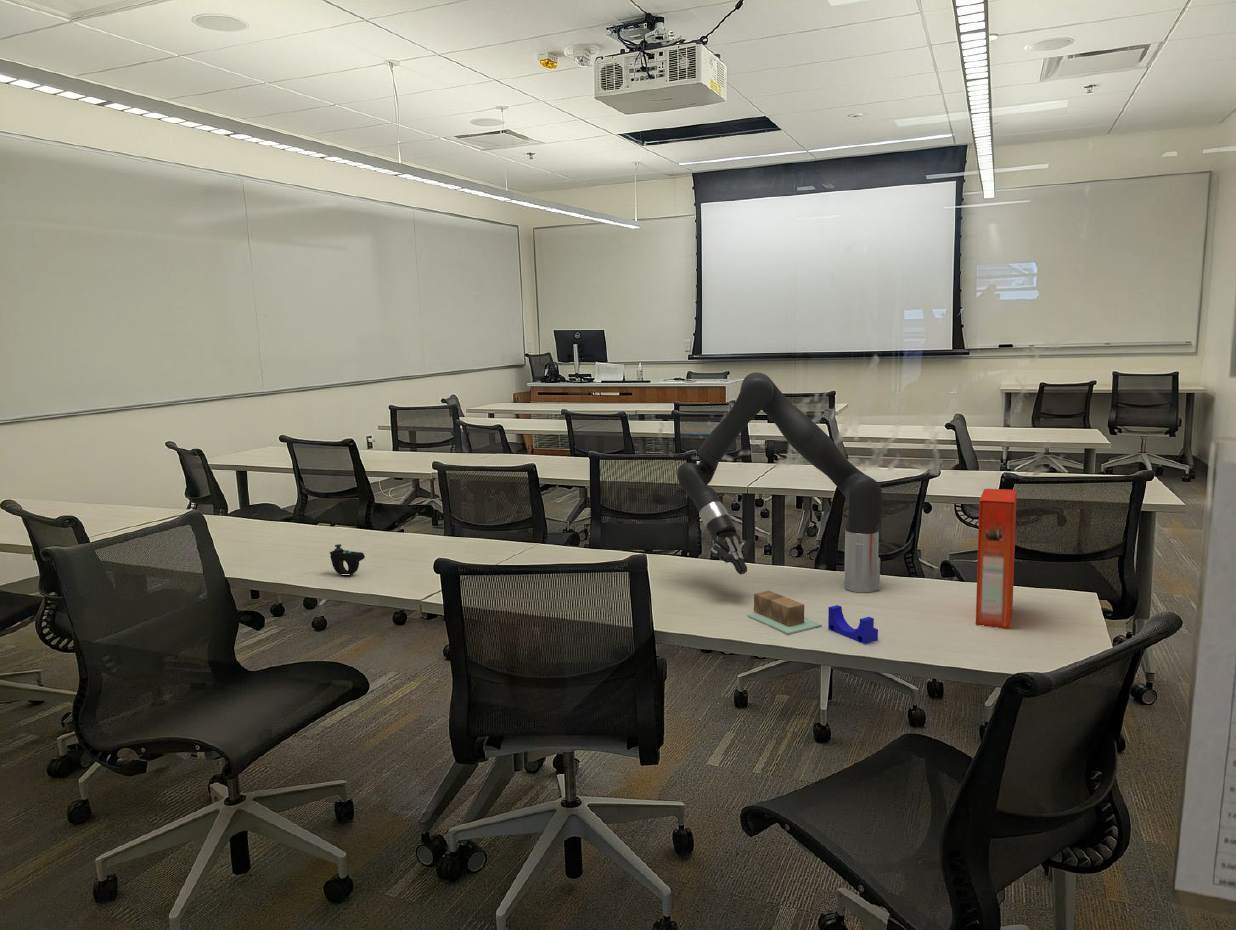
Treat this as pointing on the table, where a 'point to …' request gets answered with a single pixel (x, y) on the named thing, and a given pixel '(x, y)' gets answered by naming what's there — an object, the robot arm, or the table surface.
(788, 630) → the sage mat
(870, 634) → the blue cradle block
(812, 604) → the table surface
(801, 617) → the walnut block
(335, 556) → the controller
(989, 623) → the file binder
